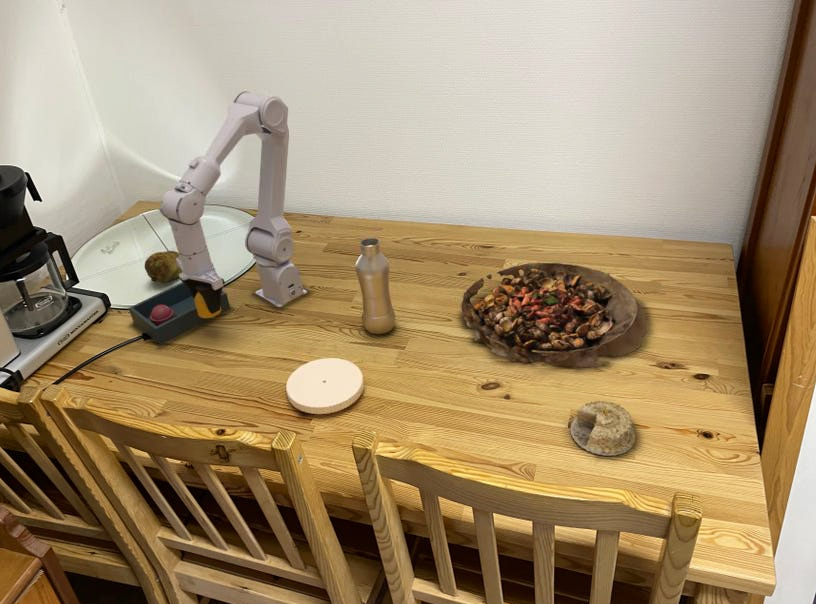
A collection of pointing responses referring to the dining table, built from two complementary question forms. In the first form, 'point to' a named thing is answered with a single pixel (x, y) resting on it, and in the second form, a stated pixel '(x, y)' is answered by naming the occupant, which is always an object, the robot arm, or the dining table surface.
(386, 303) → the plastic bottle
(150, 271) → the potato
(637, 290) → the dining table surface
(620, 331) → the food dish
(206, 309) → the orange rounded piece
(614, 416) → the cake
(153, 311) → the dark red hollow cup
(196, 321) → the tote
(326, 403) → the plastic lid
